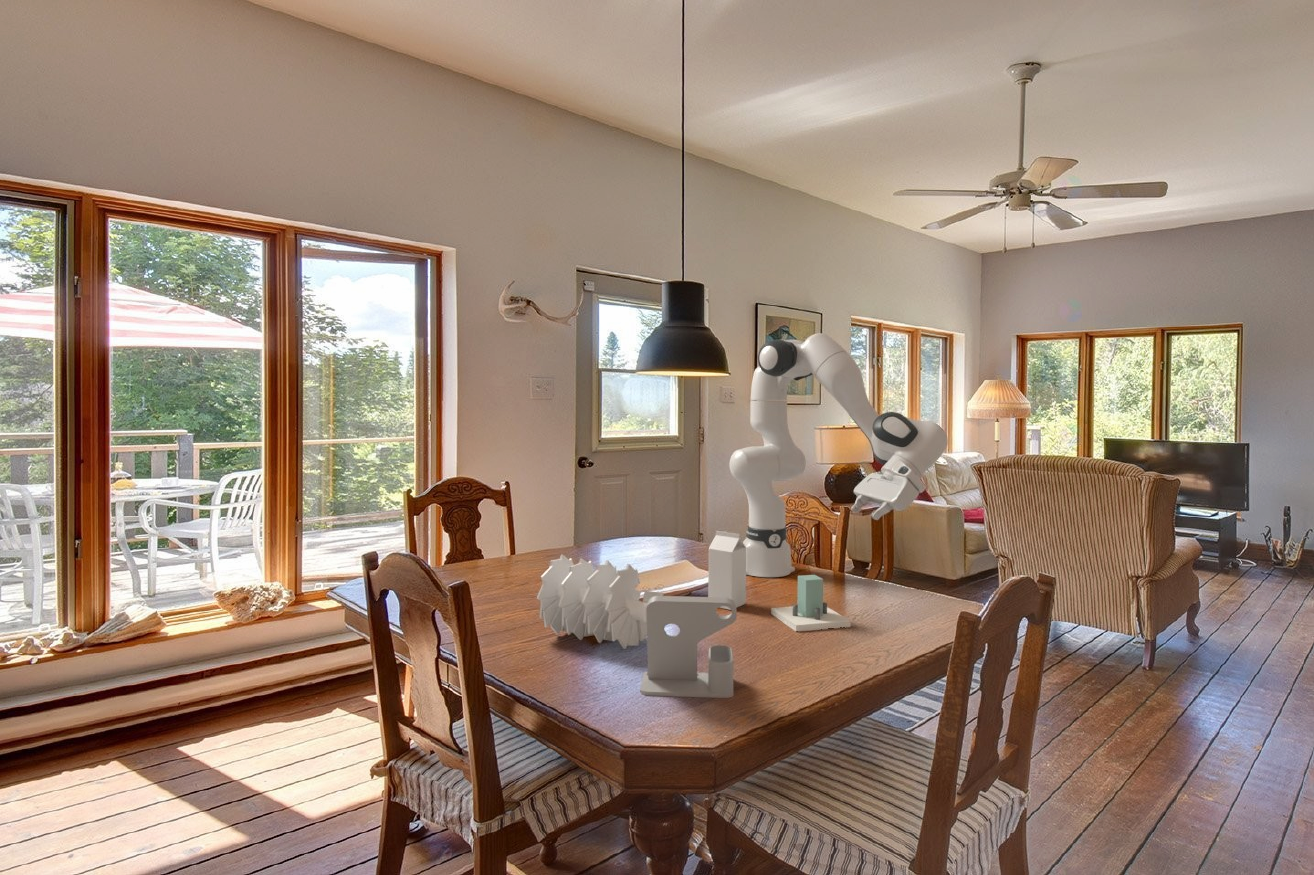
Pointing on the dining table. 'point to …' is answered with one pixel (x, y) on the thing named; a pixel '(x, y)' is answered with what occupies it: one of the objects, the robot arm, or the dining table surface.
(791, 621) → the peg board
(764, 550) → the robot arm
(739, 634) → the dining table surface
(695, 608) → the grey mounting bracket
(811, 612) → the block
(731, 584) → the milk carton
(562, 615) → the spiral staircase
